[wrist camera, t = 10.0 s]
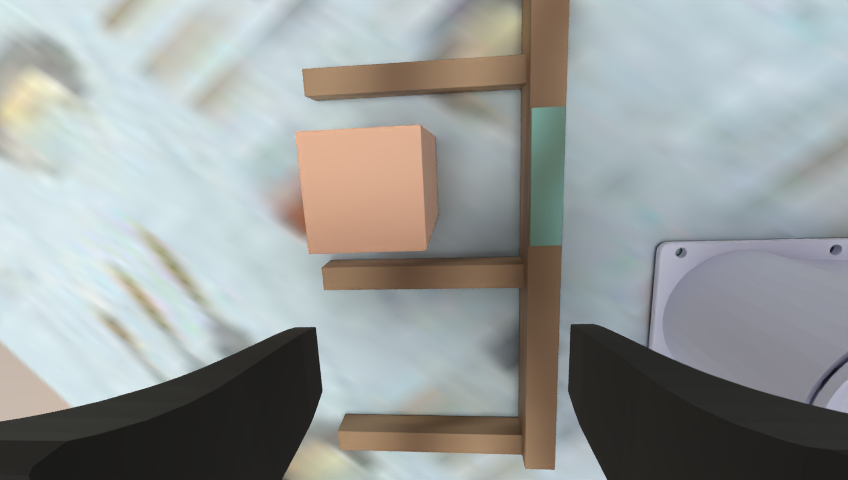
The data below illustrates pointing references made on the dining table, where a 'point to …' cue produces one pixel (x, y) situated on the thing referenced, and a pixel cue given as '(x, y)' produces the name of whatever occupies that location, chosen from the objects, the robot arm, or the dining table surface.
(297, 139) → the terracotta block
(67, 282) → the dining table surface
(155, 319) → the dining table surface
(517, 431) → the brown open frame
